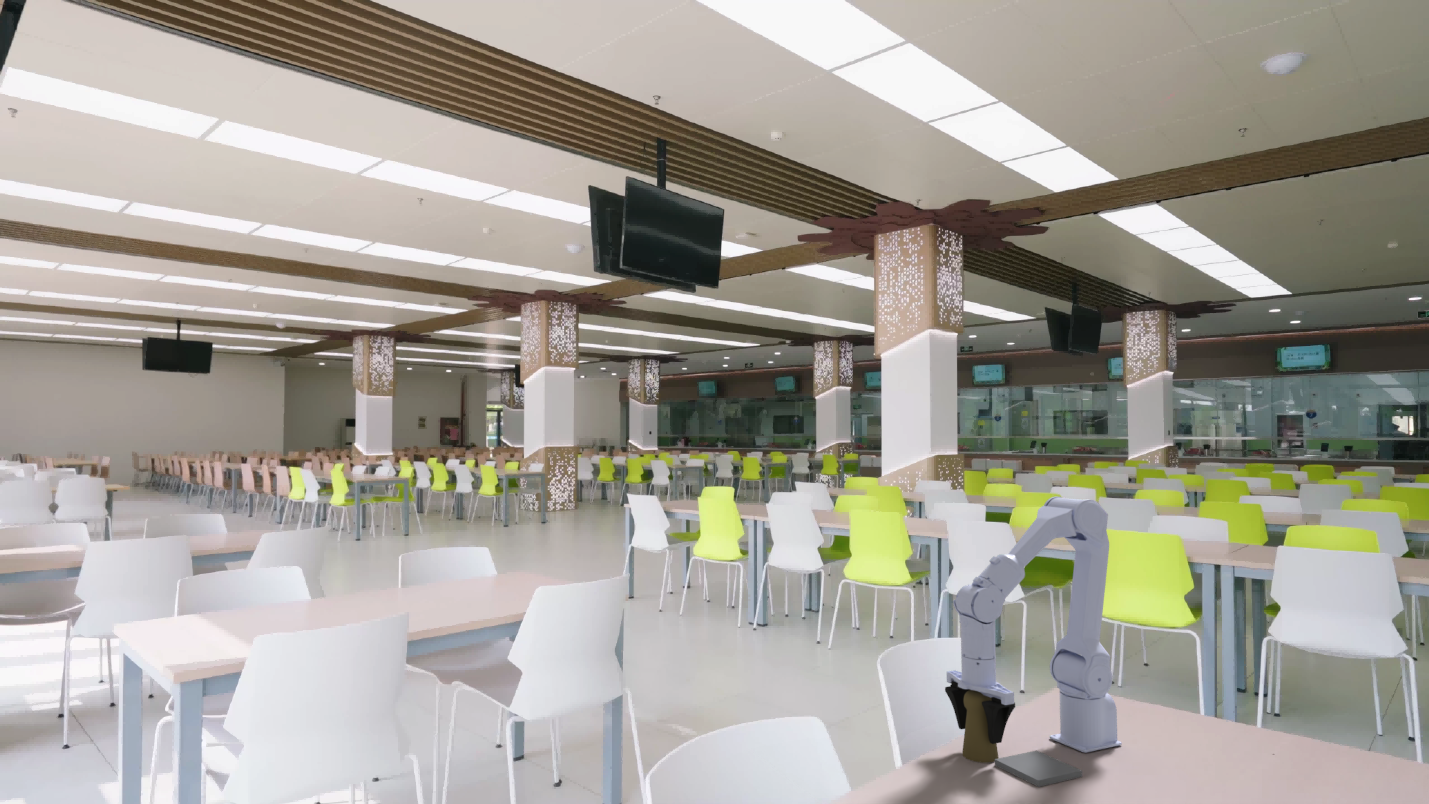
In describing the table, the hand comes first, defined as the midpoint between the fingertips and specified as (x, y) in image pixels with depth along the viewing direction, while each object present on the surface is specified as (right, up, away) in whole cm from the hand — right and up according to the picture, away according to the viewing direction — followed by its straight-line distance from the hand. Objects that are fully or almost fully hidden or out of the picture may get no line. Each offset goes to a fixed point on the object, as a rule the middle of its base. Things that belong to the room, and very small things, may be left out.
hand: (979, 735), depth 141 cm
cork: (0, -4, 0) cm, 4 cm away
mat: (+7, -3, -7) cm, 10 cm away
